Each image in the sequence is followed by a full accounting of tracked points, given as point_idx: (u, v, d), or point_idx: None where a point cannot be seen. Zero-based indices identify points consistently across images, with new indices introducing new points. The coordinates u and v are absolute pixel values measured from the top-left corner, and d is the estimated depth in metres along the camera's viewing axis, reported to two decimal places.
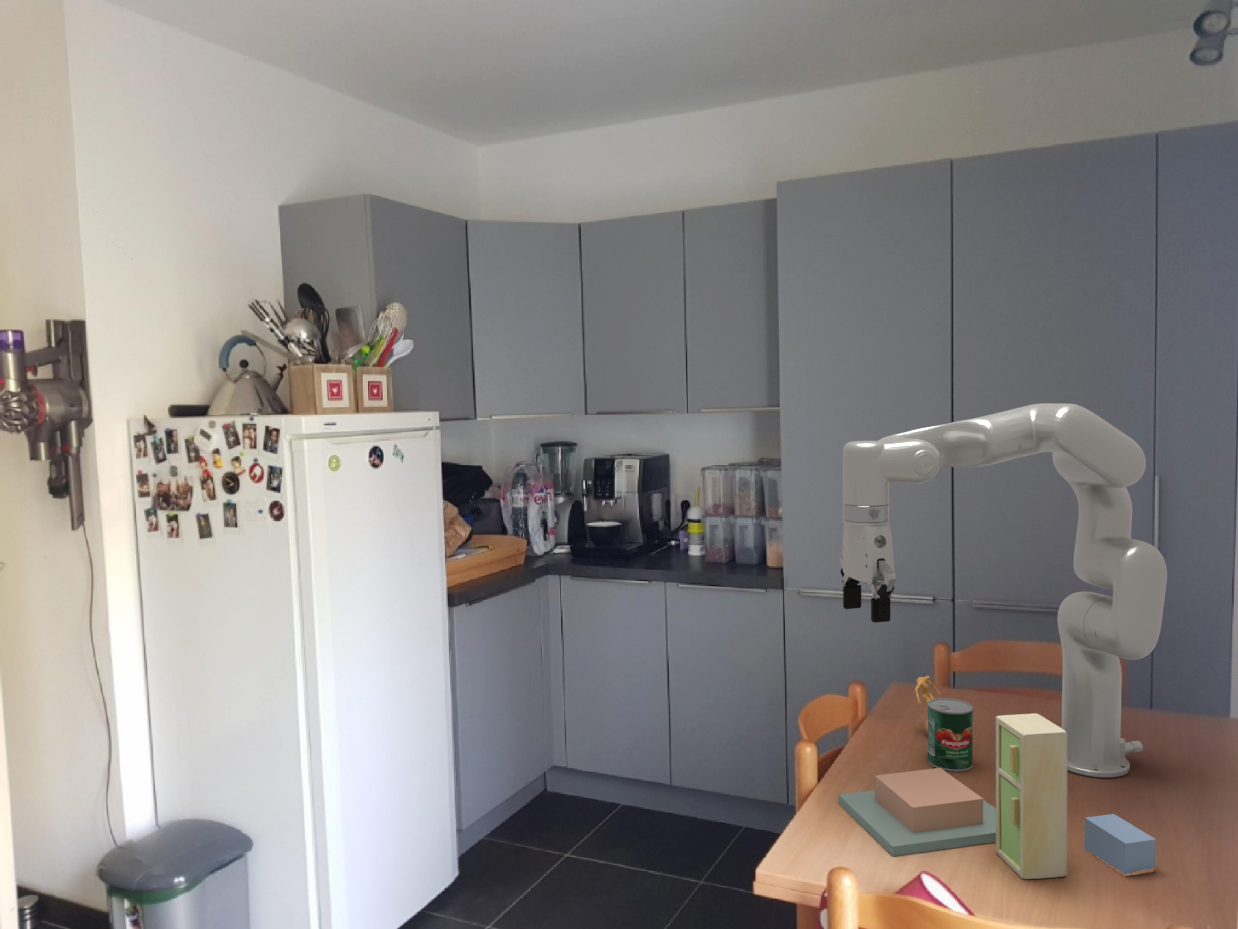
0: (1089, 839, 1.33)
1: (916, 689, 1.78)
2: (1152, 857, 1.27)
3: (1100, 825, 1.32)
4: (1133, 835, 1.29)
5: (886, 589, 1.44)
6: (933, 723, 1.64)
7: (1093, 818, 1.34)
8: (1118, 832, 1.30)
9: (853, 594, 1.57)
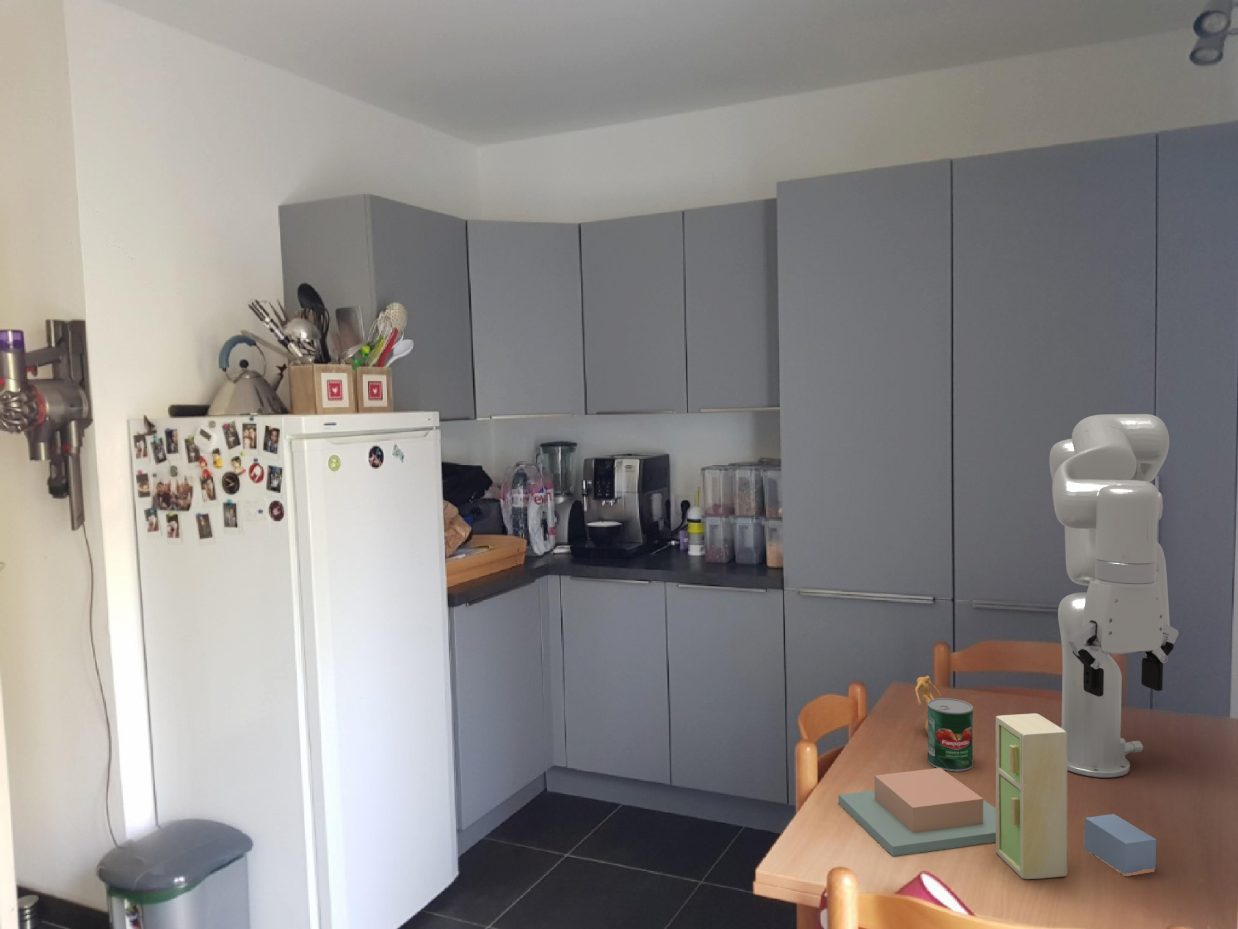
0: (1089, 839, 1.33)
1: (916, 689, 1.78)
2: (1152, 857, 1.27)
3: (1100, 825, 1.32)
4: (1133, 835, 1.28)
5: None
6: (933, 723, 1.64)
7: (1093, 818, 1.34)
8: (1118, 832, 1.29)
9: None
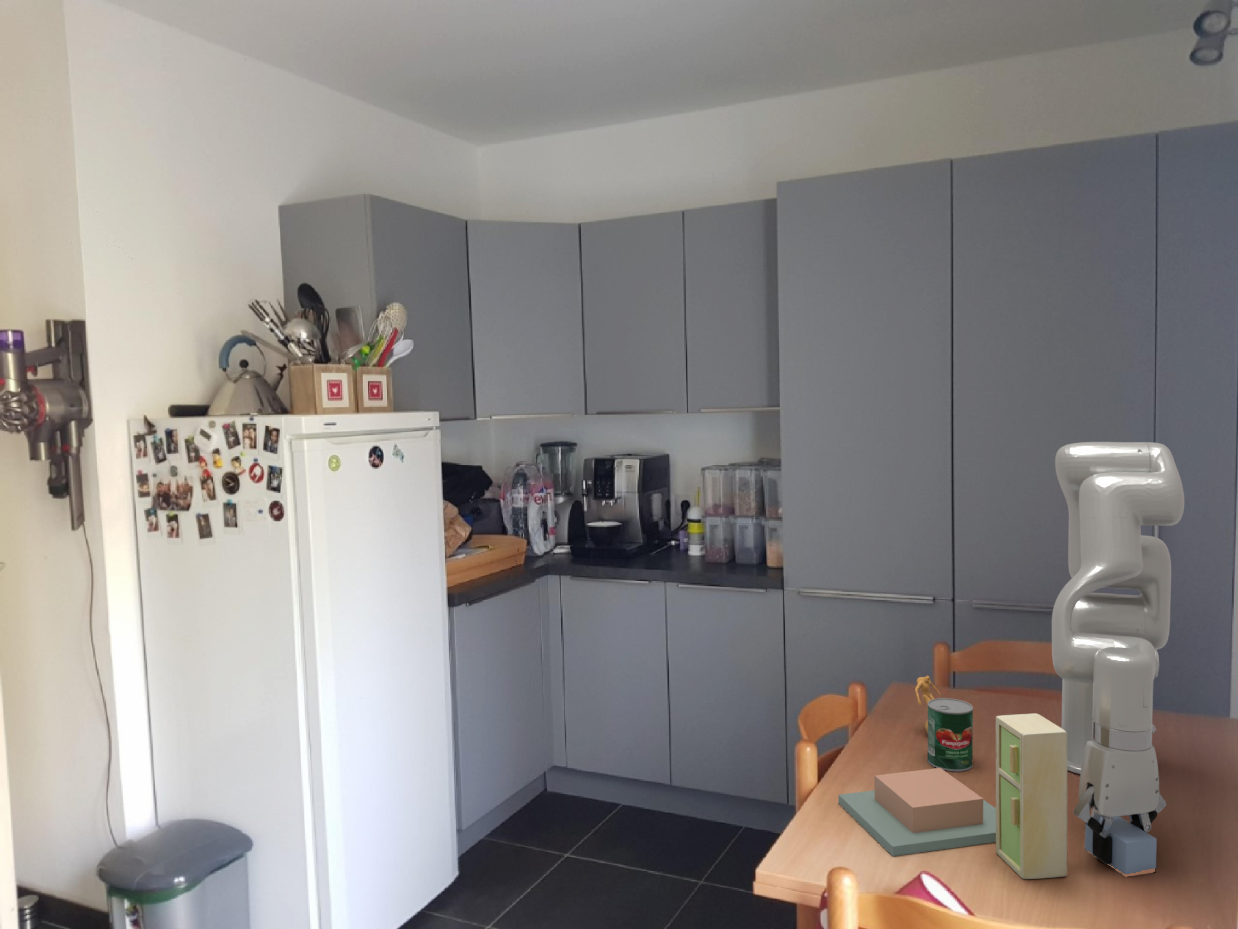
0: (1089, 838, 1.33)
1: (916, 689, 1.78)
2: (1153, 857, 1.27)
3: None
4: (1133, 834, 1.28)
5: None
6: (933, 723, 1.64)
7: None
8: (1118, 831, 1.29)
9: None
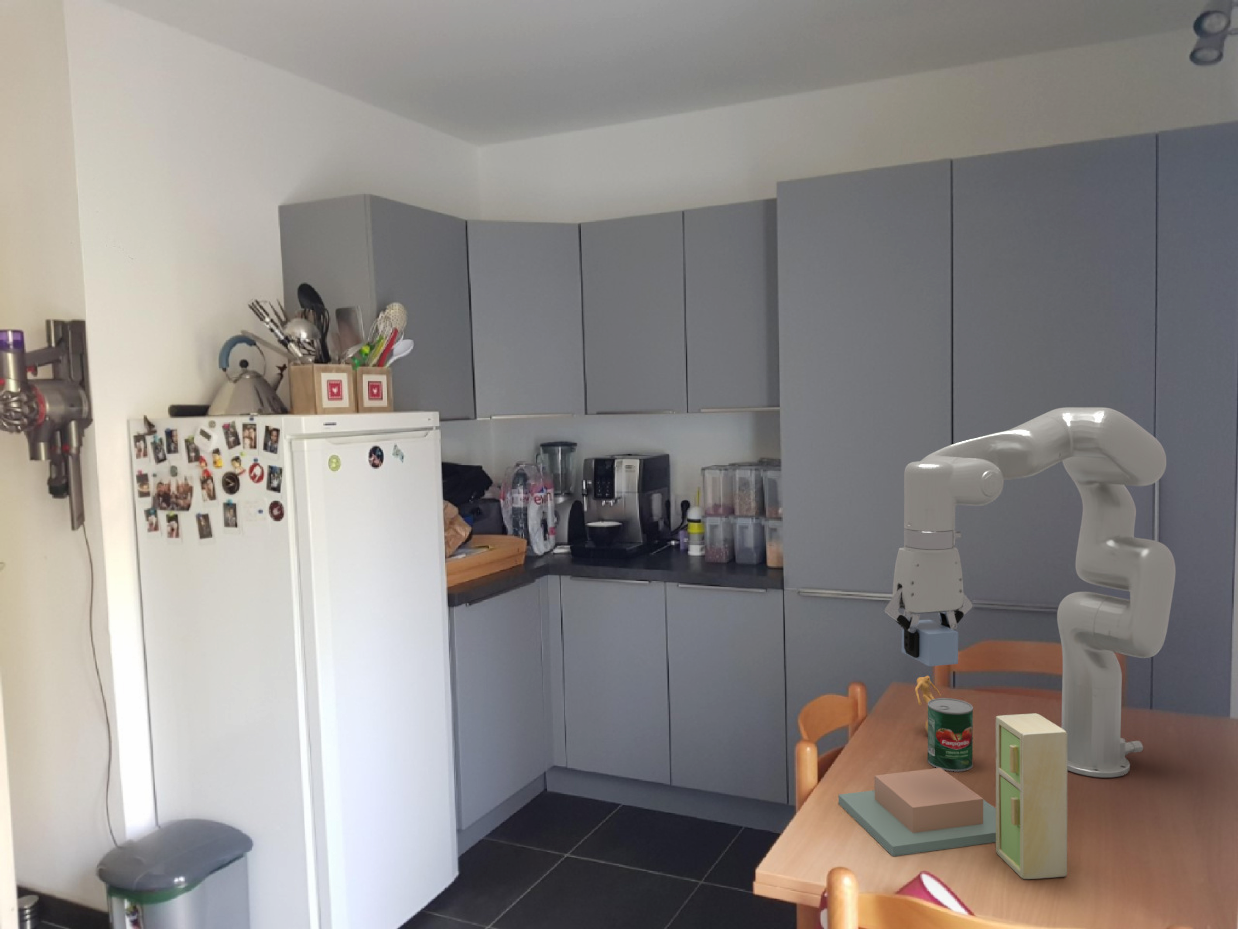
0: None
1: (916, 689, 1.78)
2: (955, 648, 1.39)
3: None
4: (939, 630, 1.40)
5: None
6: (933, 723, 1.64)
7: None
8: (926, 628, 1.41)
9: None
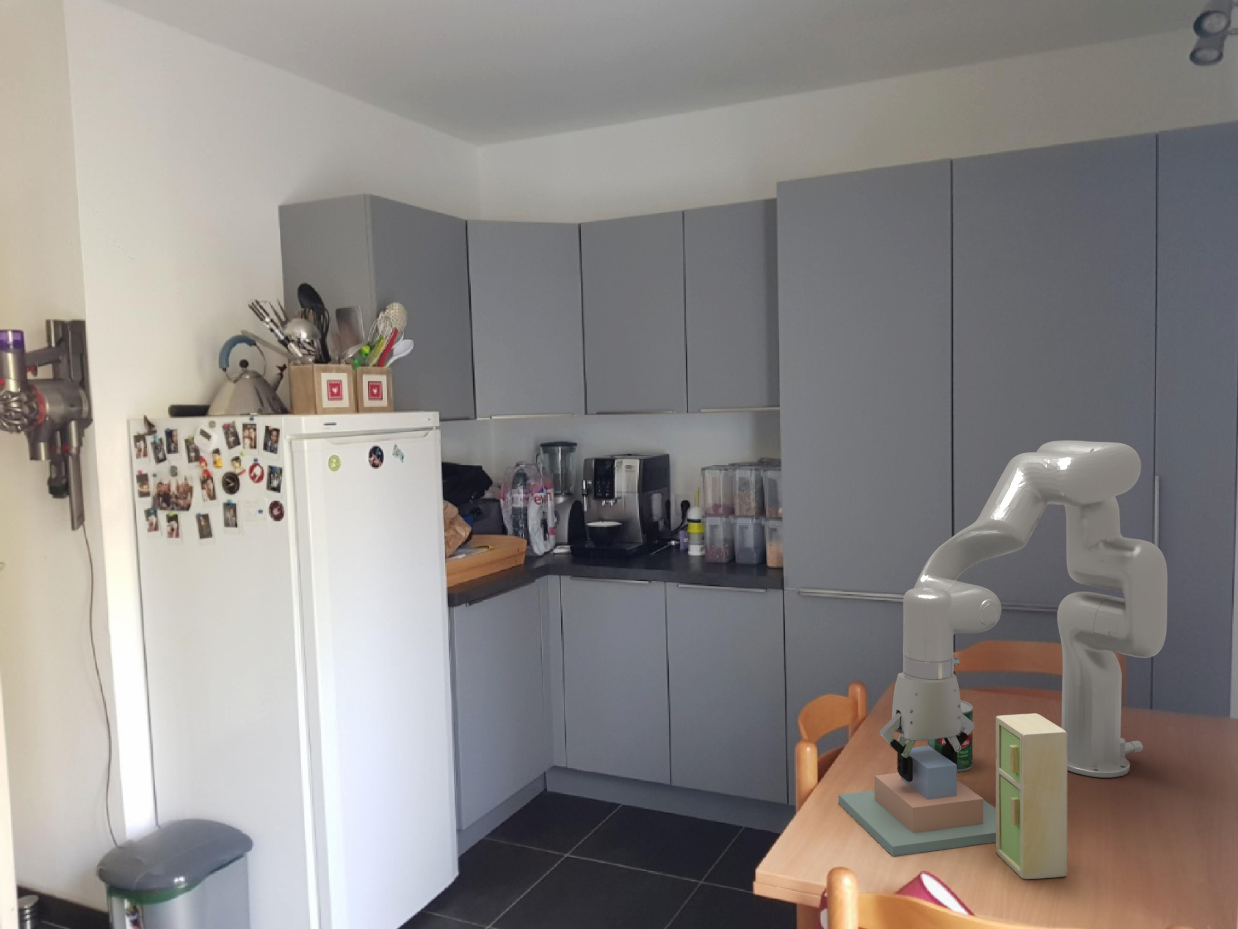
0: None
1: None
2: (953, 781, 1.40)
3: (911, 754, 1.44)
4: (937, 762, 1.41)
5: None
6: None
7: None
8: (925, 759, 1.42)
9: None
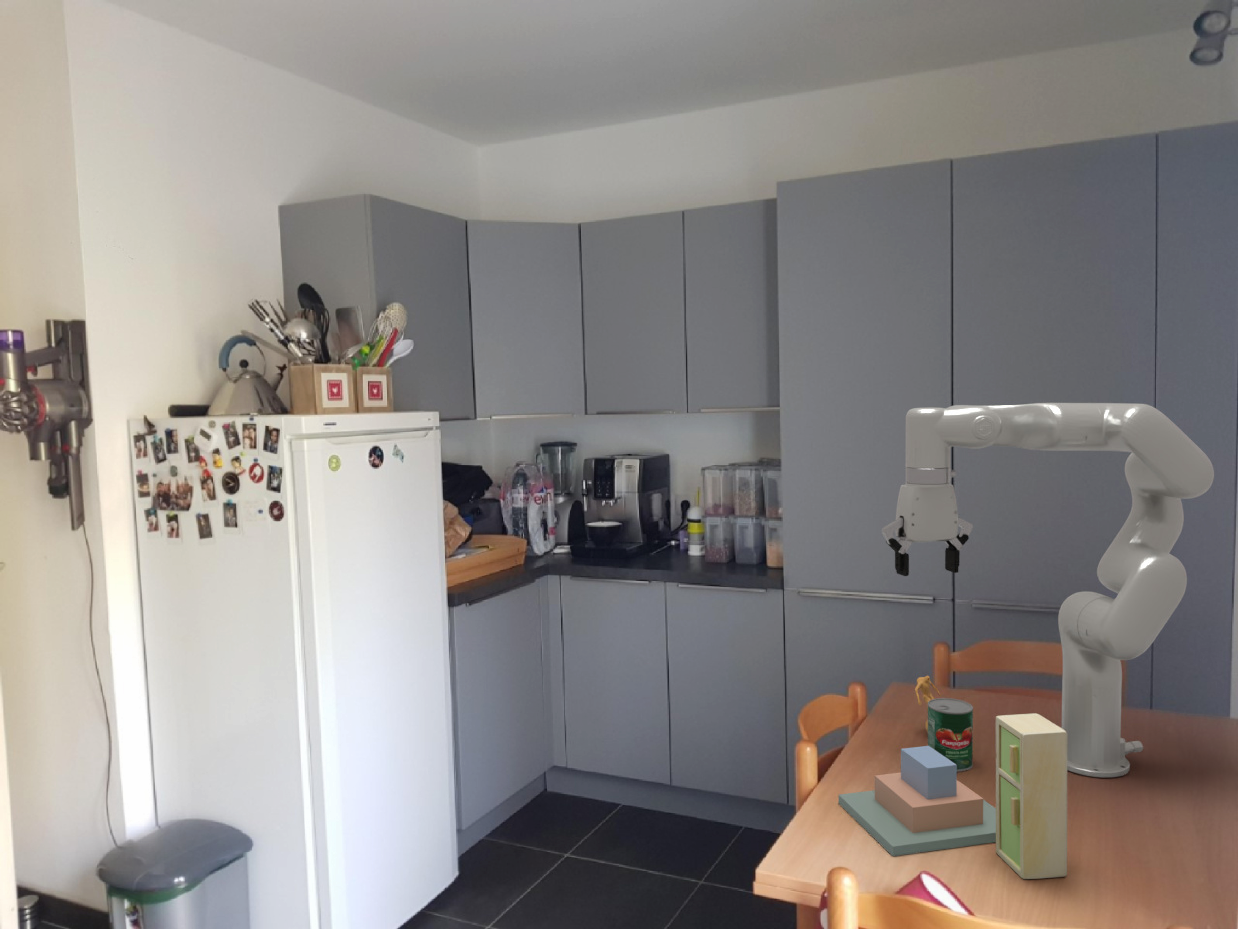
0: (904, 768, 1.46)
1: (916, 689, 1.78)
2: (953, 781, 1.40)
3: (911, 754, 1.44)
4: (937, 762, 1.41)
5: None
6: (933, 723, 1.64)
7: (908, 749, 1.47)
8: (925, 759, 1.42)
9: None
